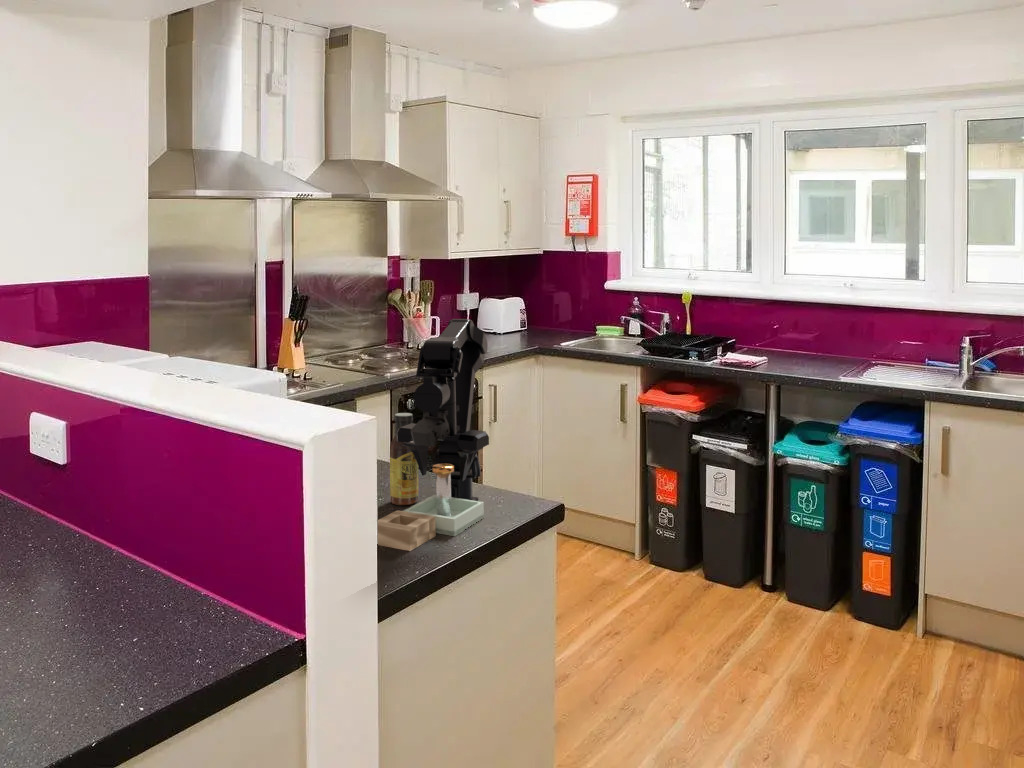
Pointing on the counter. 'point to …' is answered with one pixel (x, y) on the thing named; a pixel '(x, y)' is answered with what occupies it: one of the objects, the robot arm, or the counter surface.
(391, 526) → the block
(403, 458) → the sauce bottle
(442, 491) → the orange-capped jar
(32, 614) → the counter surface
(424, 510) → the sage tray
